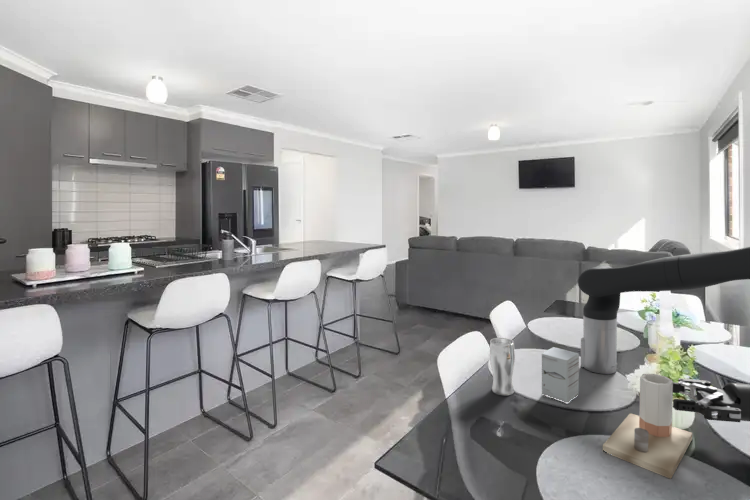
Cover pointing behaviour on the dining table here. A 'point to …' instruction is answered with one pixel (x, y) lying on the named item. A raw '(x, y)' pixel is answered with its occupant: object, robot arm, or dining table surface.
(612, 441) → the pin board
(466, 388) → the dining table surface
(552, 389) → the supplement box
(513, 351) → the beer glass
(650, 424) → the sleeve
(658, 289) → the robot arm
